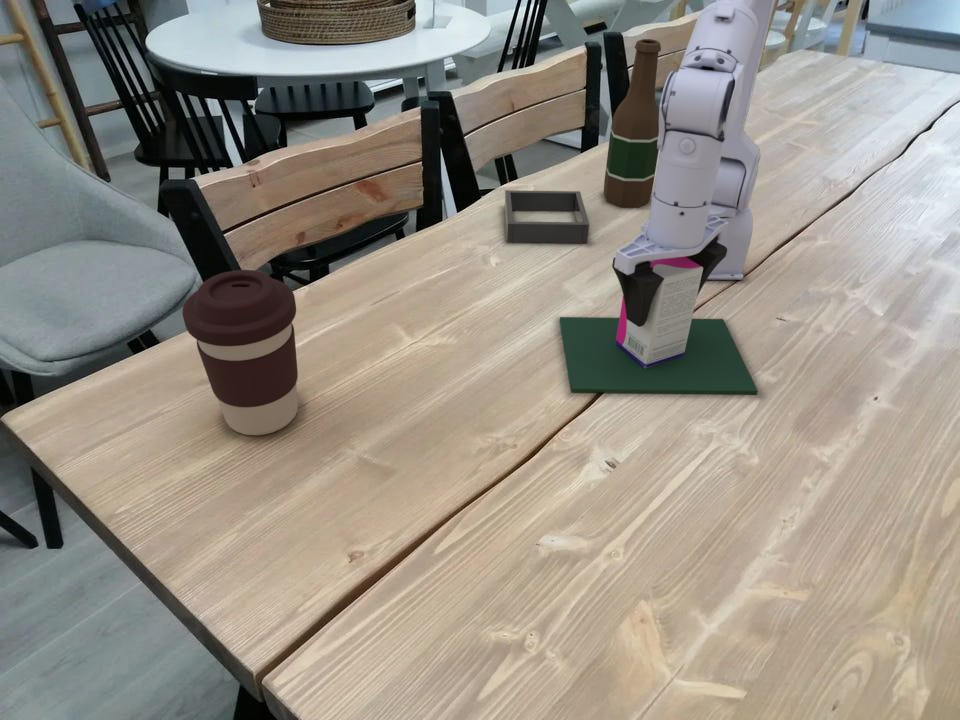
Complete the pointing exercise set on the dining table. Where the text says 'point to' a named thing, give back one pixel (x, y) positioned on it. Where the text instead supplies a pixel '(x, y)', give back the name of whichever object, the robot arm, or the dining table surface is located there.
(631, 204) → the beer bottle
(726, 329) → the mat
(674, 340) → the supplement box
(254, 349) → the coffee cup
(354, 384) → the dining table surface
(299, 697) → the dining table surface
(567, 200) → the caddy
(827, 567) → the dining table surface
